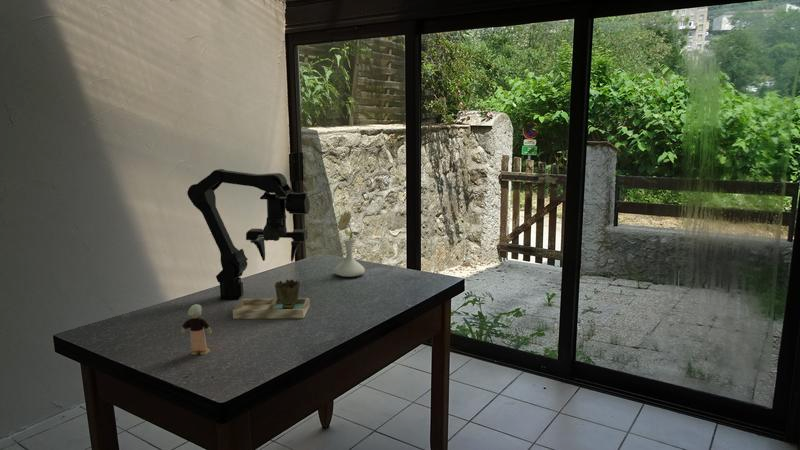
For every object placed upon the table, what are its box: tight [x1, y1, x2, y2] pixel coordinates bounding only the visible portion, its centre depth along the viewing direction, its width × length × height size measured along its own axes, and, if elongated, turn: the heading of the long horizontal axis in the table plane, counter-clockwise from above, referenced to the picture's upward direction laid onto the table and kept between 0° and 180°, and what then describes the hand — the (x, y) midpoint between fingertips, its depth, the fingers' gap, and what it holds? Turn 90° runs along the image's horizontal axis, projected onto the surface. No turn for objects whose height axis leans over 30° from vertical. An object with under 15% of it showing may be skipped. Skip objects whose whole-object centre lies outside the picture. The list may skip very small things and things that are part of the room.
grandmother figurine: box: [180, 303, 213, 356], centre depth 141 cm, size 8×4×13 cm, turn 98°
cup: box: [274, 279, 301, 309], centre depth 170 cm, size 8×7×8 cm
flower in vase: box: [334, 210, 366, 278], centre depth 208 cm, size 13×11×25 cm
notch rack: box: [232, 297, 311, 320], centre depth 171 cm, size 21×11×2 cm, turn 90°
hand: (277, 260), depth 182 cm, fingers open, 9 cm apart
